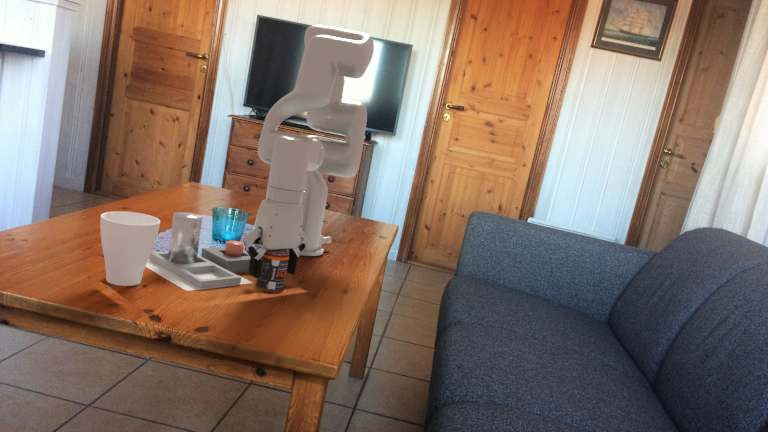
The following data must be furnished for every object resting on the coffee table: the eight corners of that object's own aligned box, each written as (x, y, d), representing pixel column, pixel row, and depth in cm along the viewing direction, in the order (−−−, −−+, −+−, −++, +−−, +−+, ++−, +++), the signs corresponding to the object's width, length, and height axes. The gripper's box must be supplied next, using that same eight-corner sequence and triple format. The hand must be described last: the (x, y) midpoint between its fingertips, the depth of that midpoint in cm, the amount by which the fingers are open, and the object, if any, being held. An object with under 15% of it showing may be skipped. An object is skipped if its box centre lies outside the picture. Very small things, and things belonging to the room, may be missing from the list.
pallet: (200, 260, 144) (201, 249, 143) (252, 288, 131) (254, 276, 131) (134, 265, 132) (136, 253, 131) (185, 296, 119) (187, 283, 119)
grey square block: (236, 261, 148) (238, 245, 147) (262, 274, 142) (264, 258, 141) (199, 265, 140) (202, 248, 140) (225, 278, 134) (228, 261, 134)
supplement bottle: (277, 296, 129) (285, 244, 127) (251, 290, 130) (259, 238, 128) (287, 289, 135) (295, 239, 133) (262, 283, 136) (269, 233, 134)
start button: (235, 252, 143) (237, 240, 143) (245, 257, 141) (247, 245, 140) (220, 253, 140) (222, 241, 140) (231, 258, 138) (233, 245, 137)
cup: (115, 299, 112) (123, 227, 109) (81, 281, 117) (88, 212, 114) (163, 290, 120) (172, 223, 118) (129, 274, 126) (137, 210, 123)
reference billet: (186, 259, 139) (192, 212, 137) (201, 267, 135) (208, 218, 133) (161, 261, 134) (168, 212, 132) (176, 269, 130) (183, 219, 128)
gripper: (303, 192, 138) (291, 266, 141) (239, 191, 125) (227, 272, 127) (326, 200, 133) (313, 276, 136) (262, 199, 120) (249, 283, 123)
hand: (272, 274), depth 132 cm, fingers open, 9 cm apart
